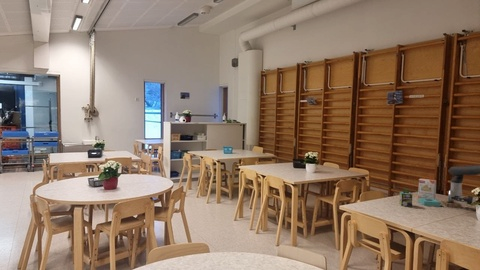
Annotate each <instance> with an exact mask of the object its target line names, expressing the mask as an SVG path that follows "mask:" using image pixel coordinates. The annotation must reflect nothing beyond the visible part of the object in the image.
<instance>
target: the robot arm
mask: <svg viewBox="0 0 480 270" xmlns="http://www.w3.org/2000/svg"><path fill="white" fill-rule="evenodd" d="M448 173H449V174H450V175H451V176H454V177H453V178H451V180H450V190H451V191H454V197H451V199H454V201H455V202H463V203H465V202H466V204H467V205H471V203H472V202H474V201H475V200H476V199H477V196H473V195H467V196H464V195H463V190H462V188H463V181H464V176H479V175H480V164H479V165H477V164H476V165H475V164H474V165H466V166H451V167H450V168H449V169H448ZM471 206H472V205H471Z"/></svg>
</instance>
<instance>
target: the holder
mask: <svg viewBox="0 0 480 270" xmlns="http://www.w3.org/2000/svg"><path fill="white" fill-rule="evenodd" d="M440 202H441V206H444V207H446V208H454V209H455V208H456V209H461V208H462V204H461V203H458V201H454V204H453V203H448V200H440Z"/></svg>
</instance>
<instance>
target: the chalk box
mask: <svg viewBox="0 0 480 270" xmlns="http://www.w3.org/2000/svg"><path fill="white" fill-rule="evenodd" d="M399 205H400V206H401V207H410V208H412V207H413V193H412V192H410V190H409V189H407V188H406V189H403V190H402V191H399Z"/></svg>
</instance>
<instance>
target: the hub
mask: <svg viewBox="0 0 480 270" xmlns="http://www.w3.org/2000/svg"><path fill="white" fill-rule="evenodd" d="M418 203H419V204H421V205H422V206H424V207H425V206H426V207H441V206H442V204H441V201H439V200H437V199H436V198H435V199H429V198H419V199H418Z"/></svg>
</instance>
